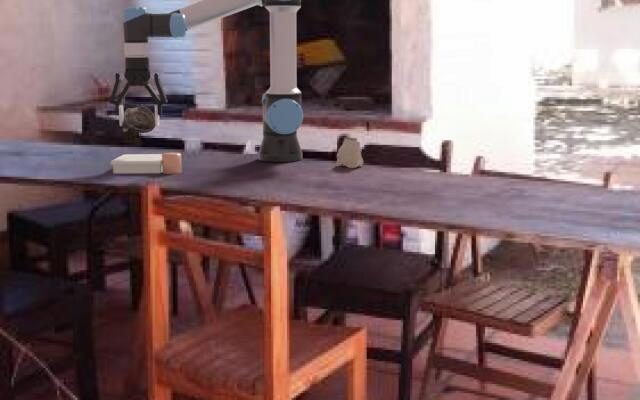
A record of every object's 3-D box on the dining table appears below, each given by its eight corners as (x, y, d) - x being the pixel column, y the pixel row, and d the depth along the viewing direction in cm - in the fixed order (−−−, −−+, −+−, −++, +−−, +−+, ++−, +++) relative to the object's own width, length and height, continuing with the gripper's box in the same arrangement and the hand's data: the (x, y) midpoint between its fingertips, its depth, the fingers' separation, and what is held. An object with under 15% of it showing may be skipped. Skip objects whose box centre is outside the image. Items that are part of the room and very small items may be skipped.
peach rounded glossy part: (183, 171, 296) (182, 152, 295) (179, 174, 290) (178, 155, 289) (164, 171, 296) (164, 152, 295) (160, 174, 290) (159, 155, 289)
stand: (171, 165, 307) (171, 154, 306) (161, 173, 291) (160, 160, 290) (124, 166, 308) (123, 154, 307) (111, 173, 292) (110, 161, 291)
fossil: (138, 132, 289) (126, 103, 290) (121, 144, 295) (110, 115, 296) (163, 128, 298) (152, 100, 299) (147, 139, 303) (136, 112, 304)
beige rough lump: (362, 173, 300) (370, 143, 301) (354, 167, 294) (362, 137, 295) (338, 168, 304) (345, 139, 305) (329, 162, 297) (337, 133, 298)
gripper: (175, 56, 296) (177, 124, 300) (103, 56, 297) (107, 124, 301) (170, 56, 288) (173, 126, 292) (97, 57, 290) (100, 126, 294)
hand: (139, 125), depth 297 cm, fingers closed on fossil, 11 cm apart
